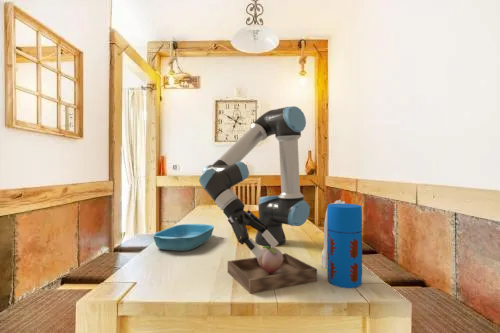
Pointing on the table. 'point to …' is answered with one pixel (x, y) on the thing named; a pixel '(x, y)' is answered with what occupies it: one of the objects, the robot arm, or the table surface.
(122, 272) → the table surface
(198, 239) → the casserole dish
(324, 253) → the decorative vase
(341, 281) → the thermos
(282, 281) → the walnut tray
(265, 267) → the decorative fruit
